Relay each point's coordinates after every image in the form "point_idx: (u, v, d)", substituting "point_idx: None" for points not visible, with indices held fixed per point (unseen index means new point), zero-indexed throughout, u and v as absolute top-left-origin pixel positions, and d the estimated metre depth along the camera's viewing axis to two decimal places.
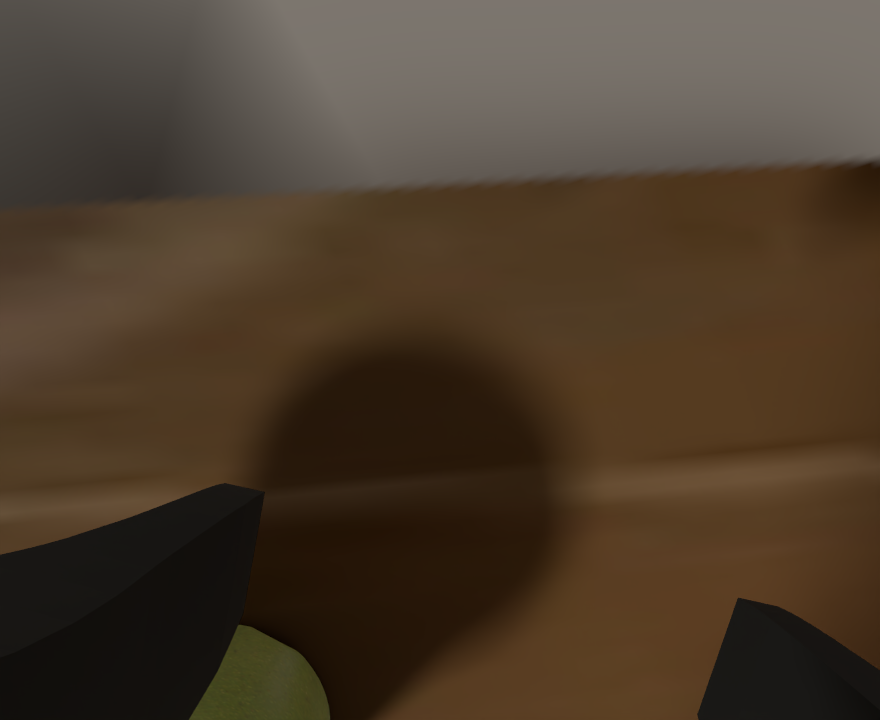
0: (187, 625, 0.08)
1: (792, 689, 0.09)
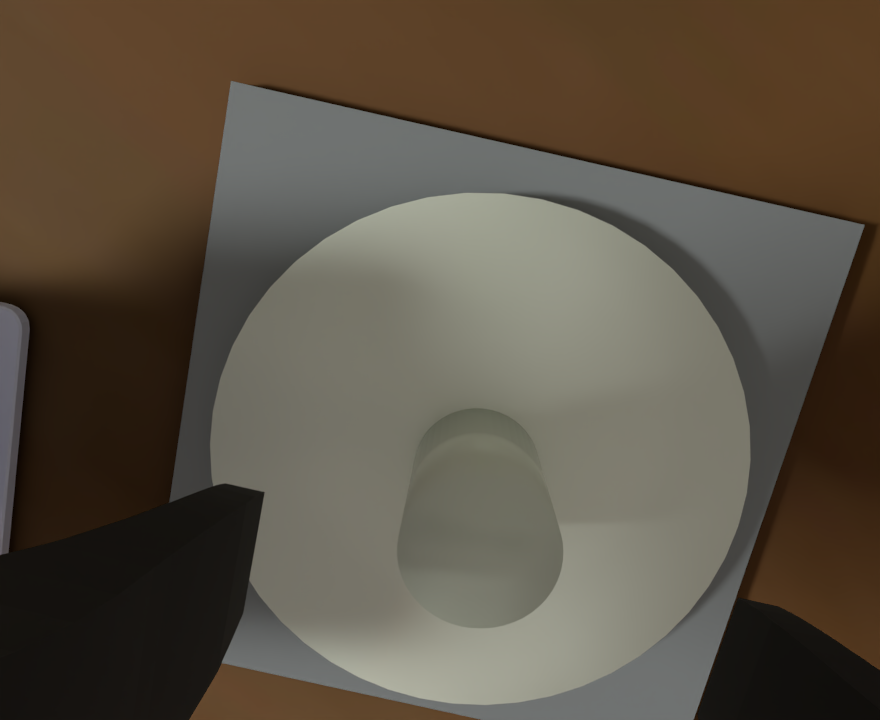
0: (187, 625, 0.08)
1: (792, 689, 0.09)
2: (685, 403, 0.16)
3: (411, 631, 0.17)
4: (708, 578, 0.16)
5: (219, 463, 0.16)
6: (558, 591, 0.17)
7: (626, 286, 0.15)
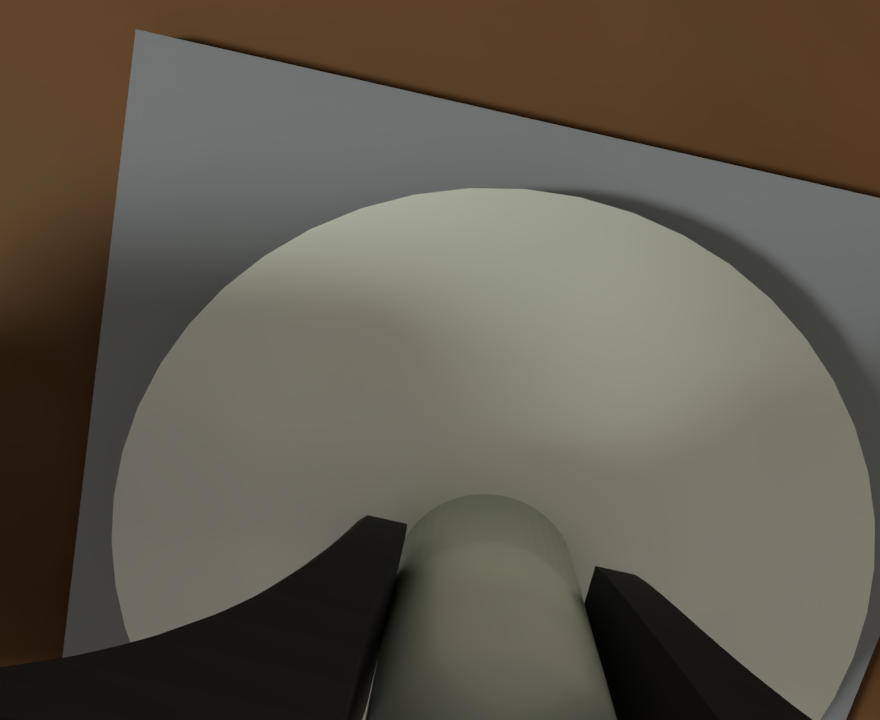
0: (367, 665, 0.08)
1: (622, 651, 0.09)
2: (783, 488, 0.11)
3: None
4: None
5: (125, 566, 0.12)
6: None
7: (702, 323, 0.10)
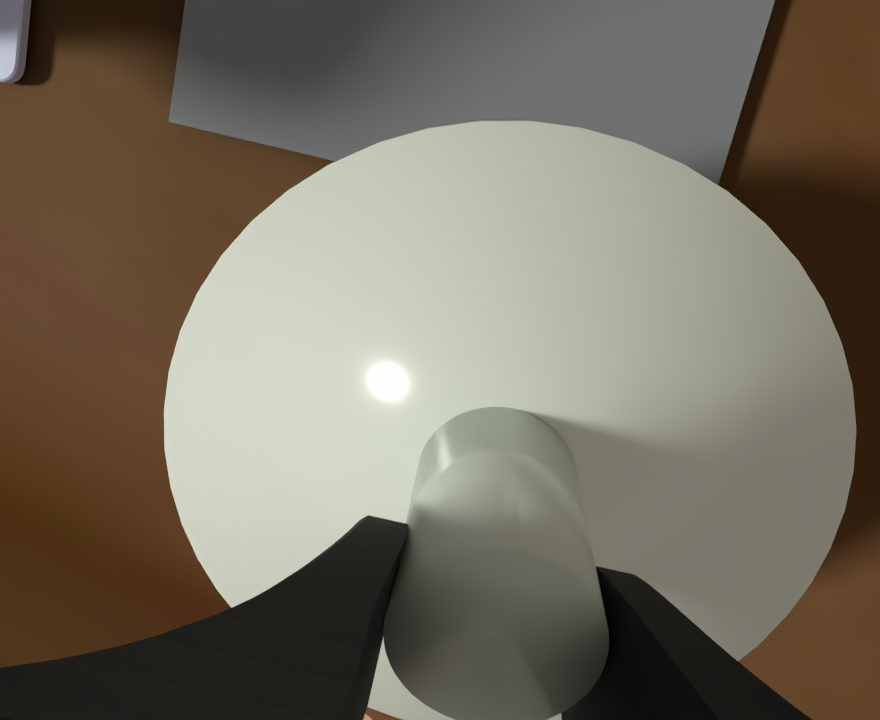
0: (368, 666, 0.08)
1: (621, 651, 0.09)
2: (771, 400, 0.12)
3: None
4: (786, 607, 0.13)
5: (177, 471, 0.13)
6: None
7: (699, 248, 0.11)
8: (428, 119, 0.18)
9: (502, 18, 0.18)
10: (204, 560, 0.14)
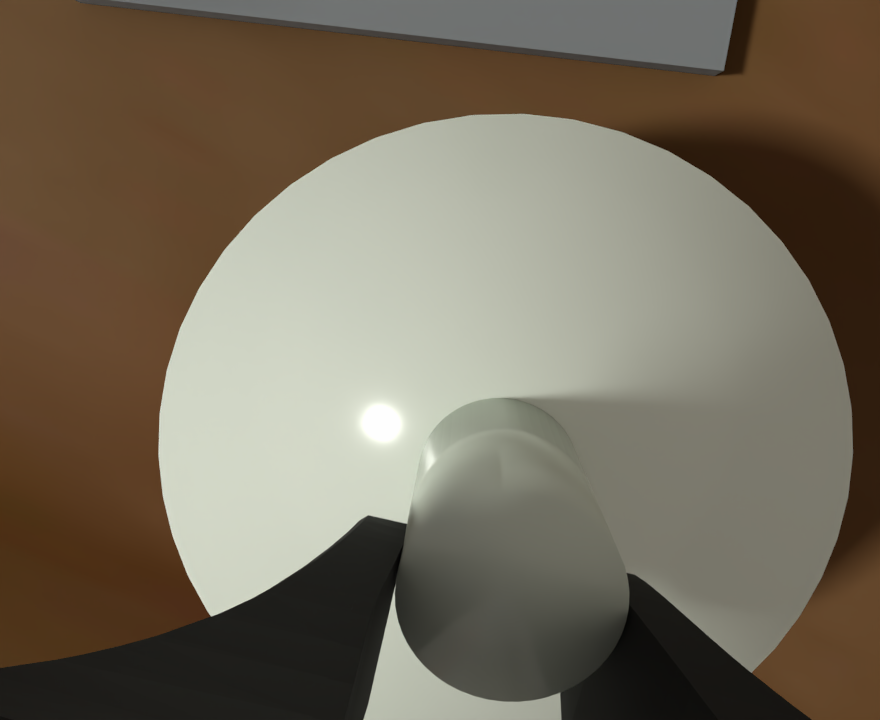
0: (368, 666, 0.08)
1: (621, 651, 0.09)
2: (767, 382, 0.12)
3: (423, 681, 0.13)
4: (799, 605, 0.13)
5: (171, 478, 0.13)
6: None
7: (687, 231, 0.11)
8: None
9: None
10: (195, 577, 0.13)
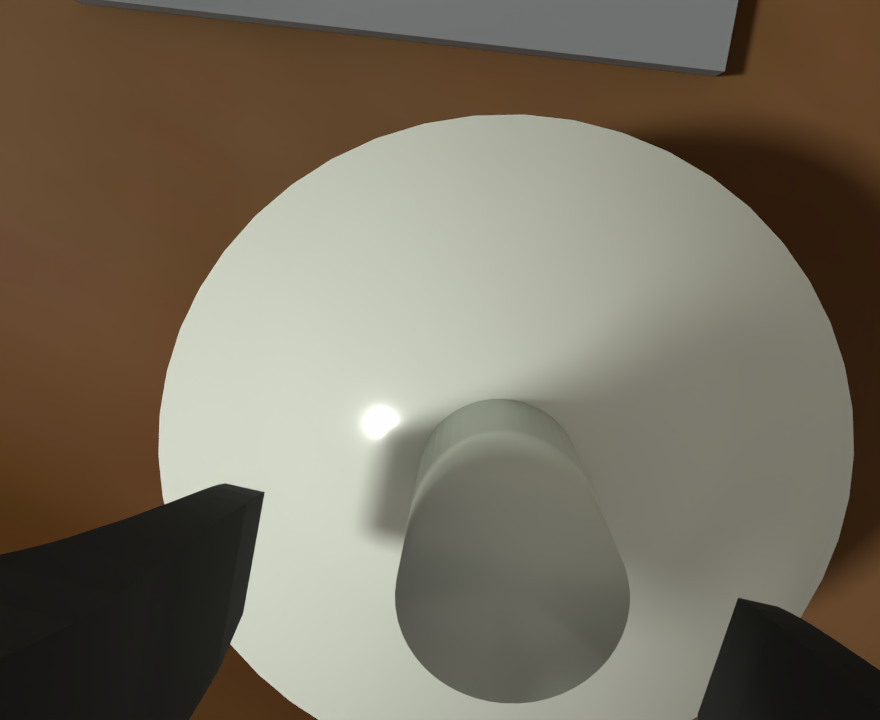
0: (187, 626, 0.08)
1: (792, 689, 0.09)
2: (768, 383, 0.12)
3: (423, 683, 0.13)
4: (800, 606, 0.13)
5: (171, 479, 0.13)
6: None
7: (688, 232, 0.11)
8: None
9: None
10: None
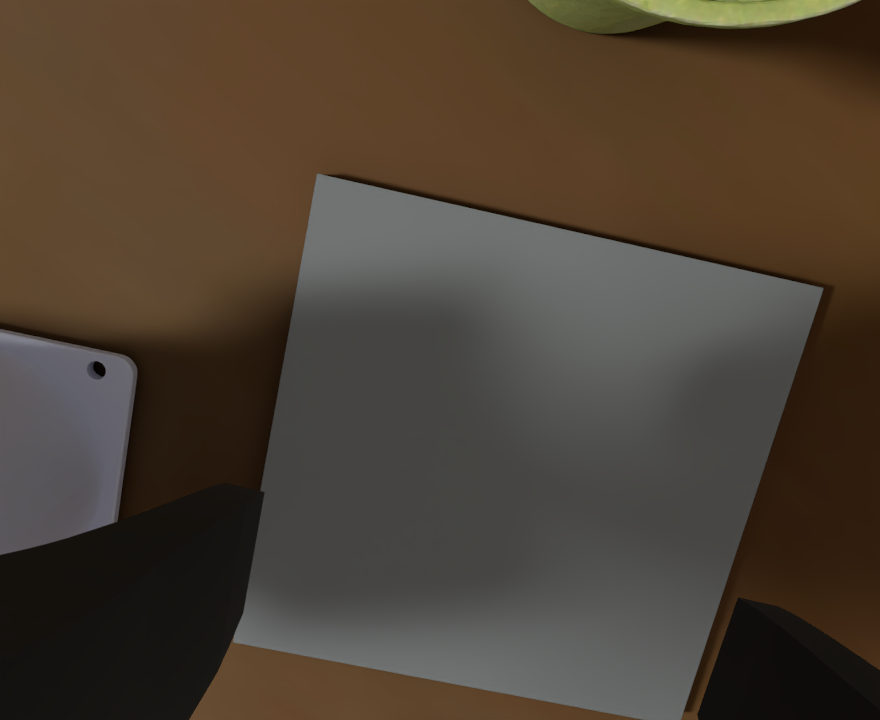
0: (187, 625, 0.08)
1: (792, 689, 0.09)
2: None
3: None
4: None
5: None
6: None
7: None
8: (454, 638, 0.22)
9: (515, 566, 0.21)
10: None
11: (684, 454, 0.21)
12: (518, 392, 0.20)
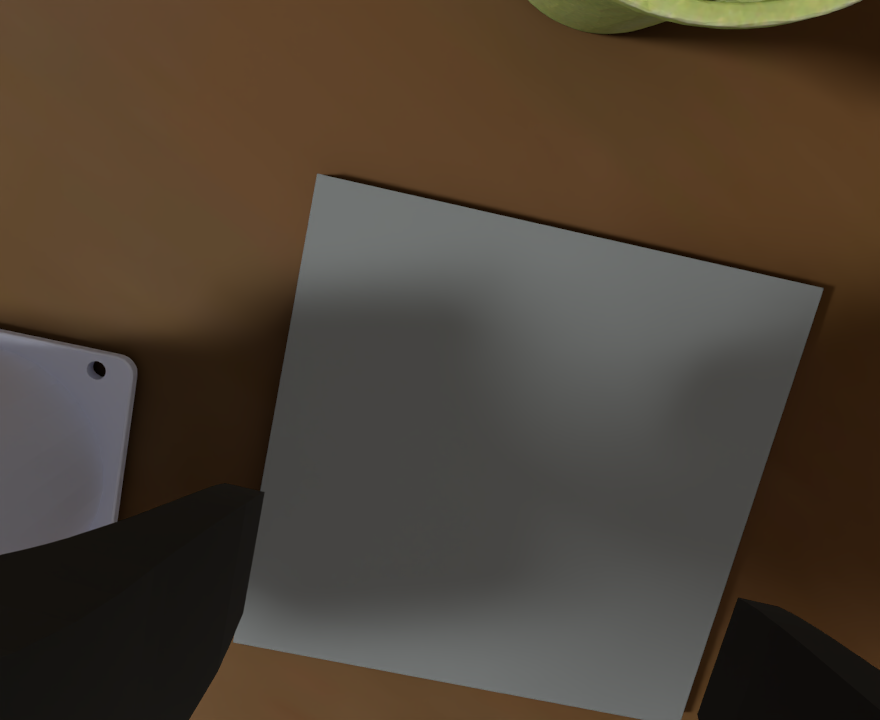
0: (187, 625, 0.08)
1: (792, 689, 0.09)
2: None
3: None
4: None
5: None
6: None
7: None
8: (454, 638, 0.22)
9: (515, 566, 0.21)
10: None
11: (684, 454, 0.21)
12: (518, 392, 0.20)
